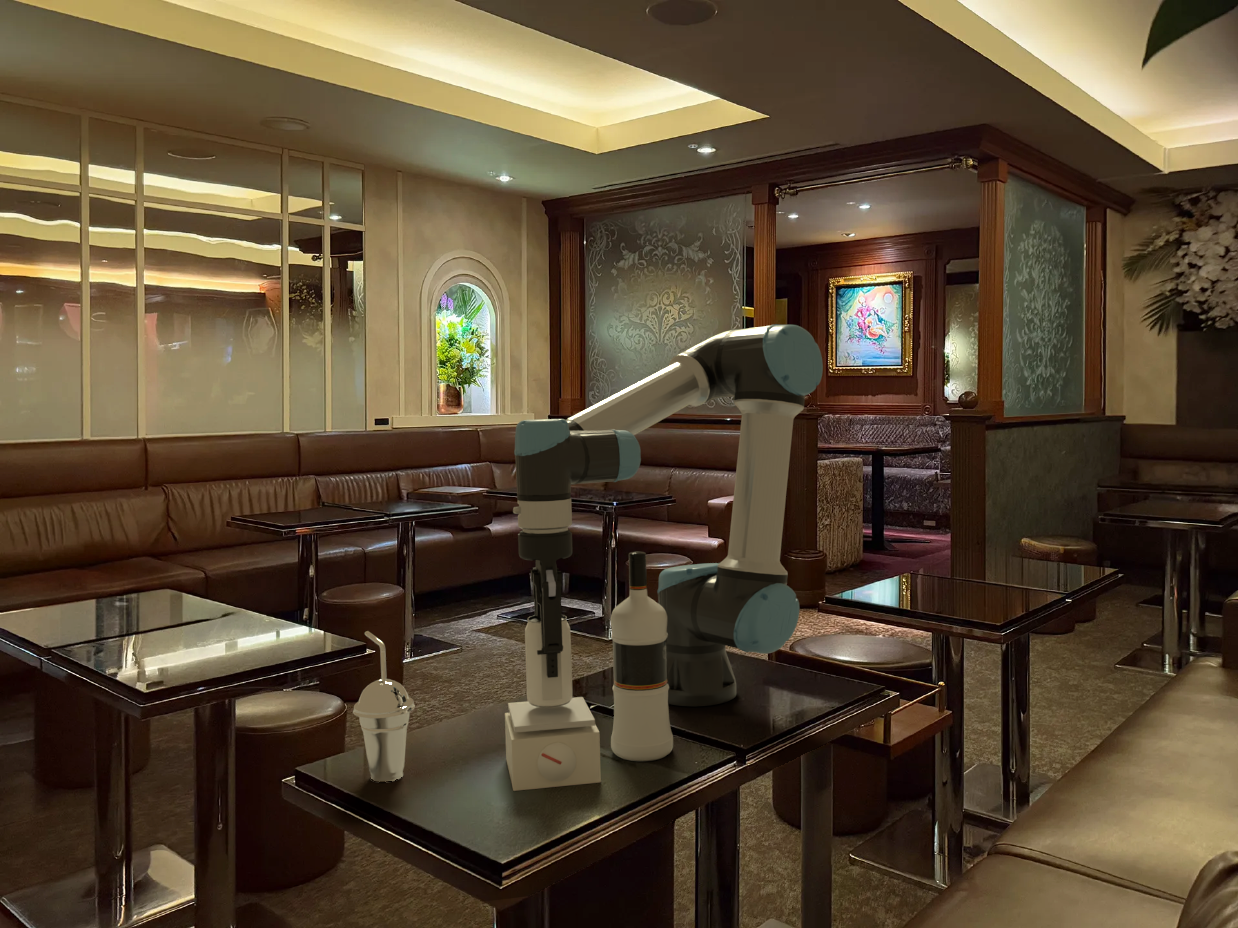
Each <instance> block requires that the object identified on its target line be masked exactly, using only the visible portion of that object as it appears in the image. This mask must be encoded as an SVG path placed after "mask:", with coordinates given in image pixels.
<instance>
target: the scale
mask: <svg viewBox="0 0 1238 928" xmlns="http://www.w3.org/2000/svg"><path fill="white" fill-rule="evenodd" d="M507 705H508V706H507V707H508V708H507V709H508V712H504V730H505V753H506V754H505V758H506V764H507V769H508V774H509V778H510V782H511V788H512V791H514V792H515V791H523V790H525V791H528V790H535V789H537V790H538V789H545V788H555V787H556V788H557V787H565V786H579V785H586V784H596V783H597V784H598V783H601V782H602V779H601V777H602V776H601V770H602V769H601V744H600V743H601V741H600V738H601V735H600V731H599V728H598V727H597V725H596V718H595V717H594V715H593V714H592V712H591V710H590V708H589V706H588V704H587V702H586V700H585V699H584V697H583V696H577V697H572V699H571V700H570V702H569V703H568V704H565V705H562V706H558V707H536V706H533V705H531V704H530V703H529V702H528V700H526V701H517V702H508V703H507Z"/></svg>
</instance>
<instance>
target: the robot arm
mask: <svg viewBox="0 0 1238 928" xmlns="http://www.w3.org/2000/svg"><path fill="white" fill-rule="evenodd" d="M823 370H824V365H823V358H822V352H821V350H820V347H819V345H818V343H817V342H816V341H815V339H814V337H813V335H812V334H811V333H810V332H809V331H808V330H807V329H805V328H804V327H802V326H799V325H797V324H779V323H778V324H777V323H775V324H774V323H773V324H771V325H766V326H765V325H764V326H758V327H749V328H737V329H736V328H735V329H730V330H726V331H723V332H720V333H718V334H716V335H713V336H711V337H709V338H707V339H705V340H702V341H701V342H699V343H698V344H695V345H694V346H691V347H689V348H688V349H686V350H685V351H682V352H680V353H678V354H677V355H675V356H673V357H672V358H671V360H670V361H669V363H668V366H666V367H664V368H662V369H660V370H659V371H657V372H655V373H652V374H651V375H649V376H647V377H645V378H643V379H641V380H639V381H637V382H636V383H635V382H634V384H632V385H630V386H628V387H626V388H623V390H620V391H619V392H617V393H615V394H612V395H610V396H609V397H606V398H605V399H603V400H601V401H599V402H597V403H595V404H594V405H591V406H590V407H588V408H586V409H584V410H582V411H579V412H578V413H576V414H573V415H572V416H570V417H568V418H567V419H564V418H551V419H550V418H548V419H547V418H546V419H542V418H541V419H523V420H520V421H519V422H517V424H516V427H515V435H514V451H513V452H514V457H515V475H516V476H515V477H516V478H515V479H516V499H517V504H518V506H514V507H513V509H512V513H513V514H518V515H517V526H518V528H520V529H522V530H521V531H519V533H518V534H517V542H518V556H519V557H520V559H522V560H526V561H535V567H532V569H530V579H531V582H532V595H533V600H534V601H533V605H534V607H533V608H534V609H533V610H534V616H535V615H537V619H541V635H542V650H537V655H541V676H542V699H543V700H553V699H562V675H561V652H562V651H563V645H562V615H563V614H562V588H563V584H562V582H563V573H562V571H561V570H560V569H559V567H557V561H558V560H565V559H567V558H570V557H571V556H572V555H573V532H572V531H571V530H570V529H568V528H569V527H571V526H572V524H573V521H572V520H573V515H572V514H573V512H572V496H571V490H572V488H571V487H572V485H578V484H593V483H606V482H612V483H616V482H618V481H619V482H620V481H623V480H629V479H631V478H633V477H634V476H635V475H636V474H637V472H638V471H639V468H640V465H641V461H642V458H641V455H642V454H641V452H642V451H641V446H640V443H639V441H638V440H637V438H636V436H635V435H638V434H639V433H641V432H643V431H644V430H646V429H648V428H650V427H652V426H654V425H655V424H657V423H659V422H661V421H662V420H665V419H667V417H669V416H672V415H673V414H676V413H677V412H679V411H680V410H682V409H684V408H686V407H687V406H691V407H699V406H701V405H703V404H705V403H708V402H709V401H712V400H715V399H721V398H729V397H734V399H733V403H734V405H735V406H736V407H737V409H738V410H739V411H740V413H741V419H740V421H741V422H740V430H739V431H740V432H739V439H738V440H739V441H738V442H739V443H738V451H737V452H738V453H737V461H736V471H735V479H734V480H735V481H734V489H733V490H734V492H733V498H732V499H733V501H732V511H731V521H730V529H729V531H730V532H729V541H728V548H727V549H728V551H727V556H726V557H725V558H724V559H723V560H722V561H720V562H718V563H717V562H715V563H714V562H712V563H711V562H710V563H709V562H708V563H697V564H695V563H694V564H685V565H680V566H679V565H678V566H674V567H669V568H665V569H663V570H662V571H661V572H660V573H659V576H658V589H657V591H656V592H657V603H658V604H660V605H661V606H662V607H663V608H664V609H665V611H666V614H667V633H668V636H667V638H666V639H667V680H668V683H667V684H668V685H669V690H668V705H673V706H678V707H679V706H680V707H706V706H707V707H708V706H714V705H721V704H723V703H727V702H730V701H732V700H733V699H734V698H736V697H737V680H736V677H735V675H734V674H735V673H734V671H733V669H732V666H731V662H730V660H729V657H728V654H727V650H726V649H727V647H730V648H733V649H734V648H735V649H738V650H740V651H743V652H744V653H756V654H761V655H763V654H764V655H765V654H766V655H767V654H771V653H774V652H777V651H778V650H780V649H781V648H782V647H783V646H785V644H786V642H788V641H789V640H790V639H791V638H792V635H793V634H794V633H795V631H796V628H797V625H798V622H799V617H800V602H799V599H798V598H797V594H796V592H795V591H794V590H793V588H791V587H790V586H789V585H787V584H788V577H789V576H788V571H787V570H786V569H785V567H784V565H782V563H781V561H780V560H781V553H782V551H781V549H782V539H783V531H784V530H783V529H784V522H785V521H784V520H785V519H784V518H785V512H786V511H785V510H786V509H785V508H786V500H787V497H786V496H787V488H788V481H789V480H788V479H789V467H790V459H791V447H792V439H793V438H792V437H793V427H794V426H793V425H794V419H795V417H796V416H797V415H799V414H800V413H801V412H803V410H805V399H806V396H807V395H809V394H811V393H812V392H815V390H816V389H817V386H819V385H820V383H821V381H822V378H823V377H822V376H823Z"/></svg>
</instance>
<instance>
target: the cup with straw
mask: <svg viewBox="0 0 1238 928" xmlns="http://www.w3.org/2000/svg"><path fill="white" fill-rule="evenodd" d="M364 635H365V636H366V637H367V638H368V639H370V640H371V641H372V642H374V644H375V645H377V646H379V650H380V652H379V653H380V673H381V674H380V675H381V676H380V679H377V680H374V681H373V682H371V683H369V684H368V685H367V686H366V687H365V688H364V689H363V690H362V691H361V694H360V697H359V699H358V701H357V702H356V703H355V704H354V705H353V710H352V713H353V715H354V716H356V717H358V718H359V720H358V721H359V724H360V726H361V731H362V734H363V739H364V745H365V746H364V747H365V751H366V752H365V753H366V759H367V764H368V765H367V766H368V771H369V773H370V777H371V779H373V780H374V781H379V782H380V781H385V782H386V781H392V782H395V780H396V779H398V780H401V779H402V778H403V776H404V772H403V771H404V768H405V760H406V759H405V758H406V746H407V744H406V743H407V730H408V726H409V720H410V714H411V713H410V712H412V711H413V710H414V709H415V708H416V705H415V703H414V699H413V697H410V696H409V693H408V692H407V690H406V688H405V687H404V686H403V685H402V684H401V683H400V682H398V681H396V680H393V679H390V678H387V661H386V660H387V657H386V645H385V643H384V642H383V641H382V640H381V639H379V638H378V637H377V636H376V635H374V634H373V633H372V632H370V631H369V630H367V631H365V632H364ZM401 777H402V778H401ZM371 779H370V780H371ZM374 781H373V782H374ZM396 781H397V780H396ZM379 782H378V783H379ZM386 783H387V782H386Z"/></svg>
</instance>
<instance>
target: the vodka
mask: <svg viewBox="0 0 1238 928" xmlns="http://www.w3.org/2000/svg"><path fill="white" fill-rule="evenodd" d="M646 557H647V553H646V552H644V551H637V550H636V551H631V552H629V553H628V581H629V582H628V584H629V586H628V587H629V595H628V597H627V598H625V599H624V600H623V601H621V602H620V603H619V604H617V605H616V606H615V607H614V608H613V610H612V612H611V615H610V627H611V640H612V661H613V669H612V670H613V686H612V691H613V703H614V706H613V708H614V709H613V715H614V716H613V726H612V732H611V733H612V734H611V736H610V749H611V750H612V753H614V755H615V756H617V757H618V758H620V759H623V760H626V761H631V762H638V763H639V762H652V761H656V760H660V759H663V758H665V757H666V756H667V755H669V754H670V753H671V752H672V750H673V748H674V736H673V732H672V729H671V728H672V727H671V722H670V713H669V710H670V709H669V704H668V690H669V685H668V684H667V683H668V680H667V639H666V638H667V636H668V633H667V614H666V611H665V609H664V608H663V607H662V606H661V605H660V604H658V601H657V602H656V600H654V599H652V598H651V597H650V596H648V585H647V558H646Z"/></svg>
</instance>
